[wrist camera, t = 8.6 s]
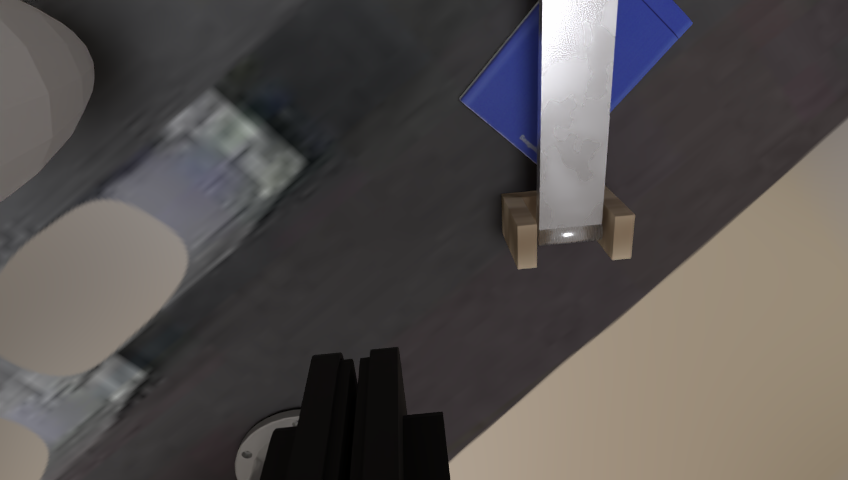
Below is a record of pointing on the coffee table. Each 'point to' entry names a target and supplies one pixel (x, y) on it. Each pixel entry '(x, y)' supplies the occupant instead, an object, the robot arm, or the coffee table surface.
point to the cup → (37, 90)
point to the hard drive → (518, 67)
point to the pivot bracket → (523, 227)
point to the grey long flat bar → (573, 117)
